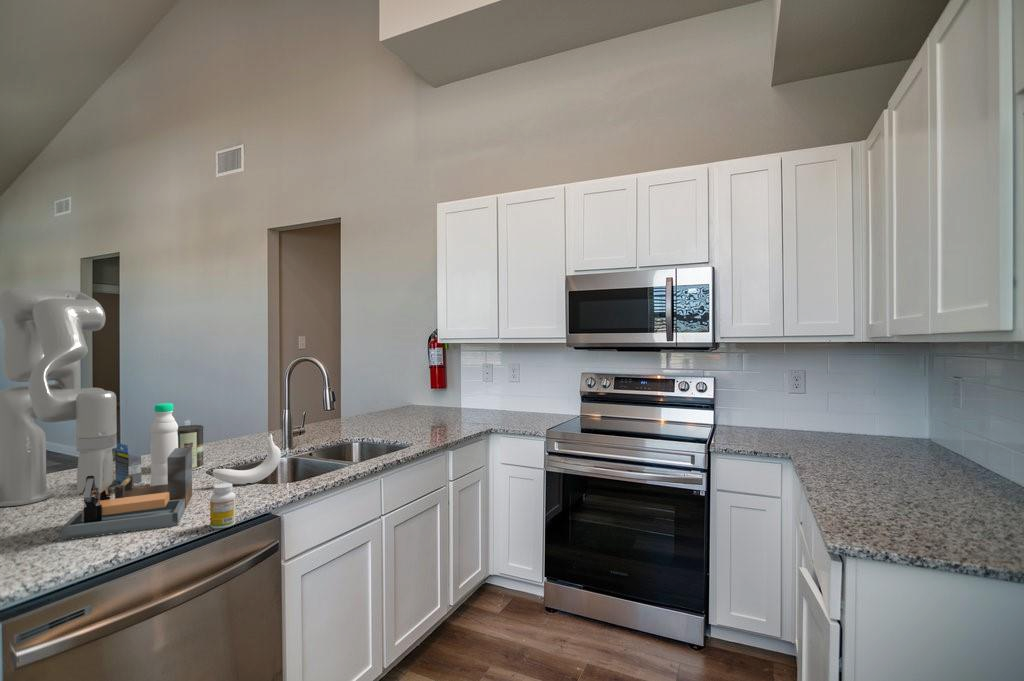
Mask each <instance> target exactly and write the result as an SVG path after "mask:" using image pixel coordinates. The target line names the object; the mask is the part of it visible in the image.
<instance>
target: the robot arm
mask: <svg viewBox="0 0 1024 681" xmlns="http://www.w3.org/2000/svg"><path fill="white" fill-rule="evenodd" d="M0 320H1V324H2V327H3V330H4V342H3V343H4V344H3V361H2V362H3V364H2V366H3V367H2V368H3V370H2V371H3V376H4V377H5V378H6V379H7V380H8V381H9V382H10V381H11V382H15V383H16V382H17V383H28V385H20V386H19V385H17V386H11V387H6V388H4V389H1V390H0V507H3V508H4V507H14V506H15V507H16V506H23V505H27V504H34V503H38V502H41V501H44V500H47V499H49V498H52V497H53V496H54V494H55V492H54V489H50V488H47V440H46V438H47V437H46V433H45V431H44V429H42V427H41V426H39V425H38V424H36V423H35V420H40V421H41V422H44V423H59V422H61V423H62V422H68V421H75V446H76V447H75V450H76V452H77V453H79V454H78V460H77V471H76V491H75V492H76V495H78V496H83V509H84V523H91V522H100V521H102V505H100V501H101V500H109V499H111V496H110V495H111V492H110V491H111V489H110V486H111V485H112V483H113V480H114V458H113V454H114V453H113V449H114V450H115V448H116V447H117V443H118V440H117V435H118V434H117V433H118V432H117V427H118V426H117V425H118V424H117V395H116V393H115V392H114V391H111V390H105V389H104V388H102V387H101V388H100V387H82V388H79V382H80V360H82V359H84V358H85V357H86V355H88V352H89V349H88V346H87V342H86V339H85V336H84V332H96V331H100V330H101V329H102V328H104V326H105V324H106V320H107V319H106V313H105V309H104V308H103V307H102V305H101V304H100V302H98V301H97V300H96V299H95V298H92V297H90V296H89V295H87V294H85V293H84V292H81V291H78V290H77V291H76V290H69V289H68V290H66V289H50V288H38V287H11V288H6V289H3V291H1V292H0ZM49 381H54V383H50V384H49V383H48V382H49Z"/></svg>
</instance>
